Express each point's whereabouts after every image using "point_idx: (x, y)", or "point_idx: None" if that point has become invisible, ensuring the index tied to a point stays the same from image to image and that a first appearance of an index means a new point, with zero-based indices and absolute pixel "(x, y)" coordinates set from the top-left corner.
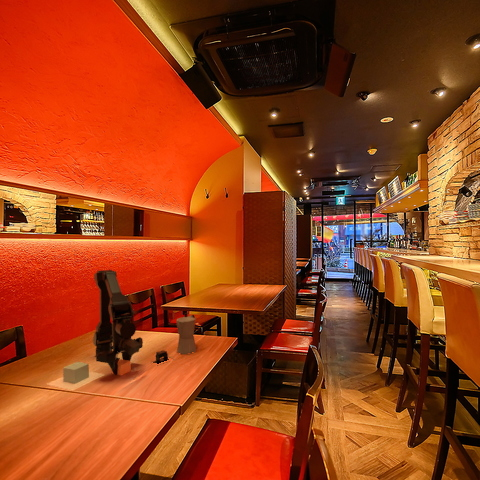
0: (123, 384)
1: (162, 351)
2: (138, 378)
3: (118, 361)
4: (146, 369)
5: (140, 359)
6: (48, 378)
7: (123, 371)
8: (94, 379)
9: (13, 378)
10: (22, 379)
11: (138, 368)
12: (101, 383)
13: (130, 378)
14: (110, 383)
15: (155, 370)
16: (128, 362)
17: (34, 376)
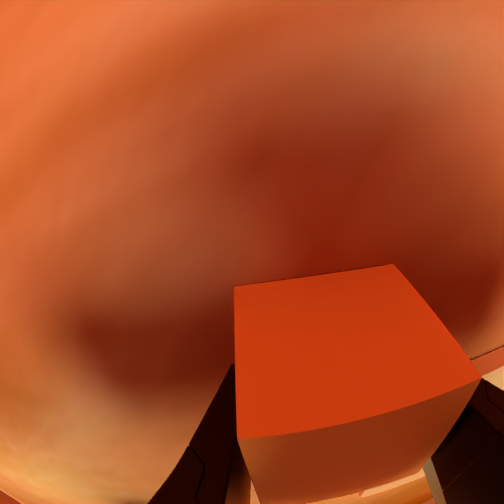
0: (483, 122)
1: None
2: (303, 55)
3: (338, 488)
4: (43, 213)
5: (23, 408)
6: (421, 481)
7: (386, 313)
8: (486, 376)
9: (422, 500)
10: (428, 492)
11: (90, 317)
12: (485, 320)
13: (352, 163)
14: (486, 262)
15: (7, 88)
16: (296, 419)
17: (408, 498)
